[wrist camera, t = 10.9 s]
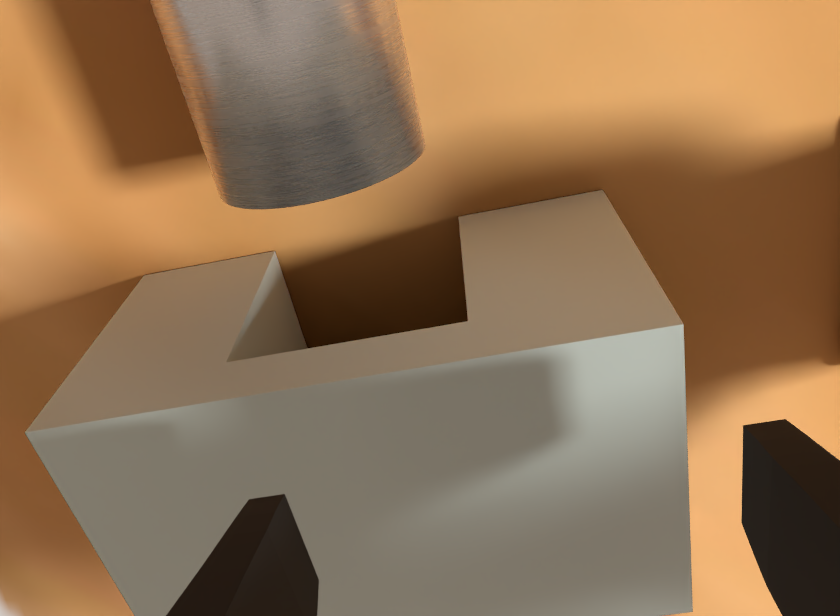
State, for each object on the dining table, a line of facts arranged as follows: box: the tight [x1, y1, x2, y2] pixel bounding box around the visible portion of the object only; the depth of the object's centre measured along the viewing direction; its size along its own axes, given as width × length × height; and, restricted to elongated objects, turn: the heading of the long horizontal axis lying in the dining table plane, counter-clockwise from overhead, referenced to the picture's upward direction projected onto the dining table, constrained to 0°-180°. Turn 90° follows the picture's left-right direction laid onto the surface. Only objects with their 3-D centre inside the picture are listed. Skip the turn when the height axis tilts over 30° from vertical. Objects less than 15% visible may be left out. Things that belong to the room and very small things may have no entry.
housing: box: [25, 190, 693, 616], centre depth 19 cm, size 13×8×7 cm, turn 102°
